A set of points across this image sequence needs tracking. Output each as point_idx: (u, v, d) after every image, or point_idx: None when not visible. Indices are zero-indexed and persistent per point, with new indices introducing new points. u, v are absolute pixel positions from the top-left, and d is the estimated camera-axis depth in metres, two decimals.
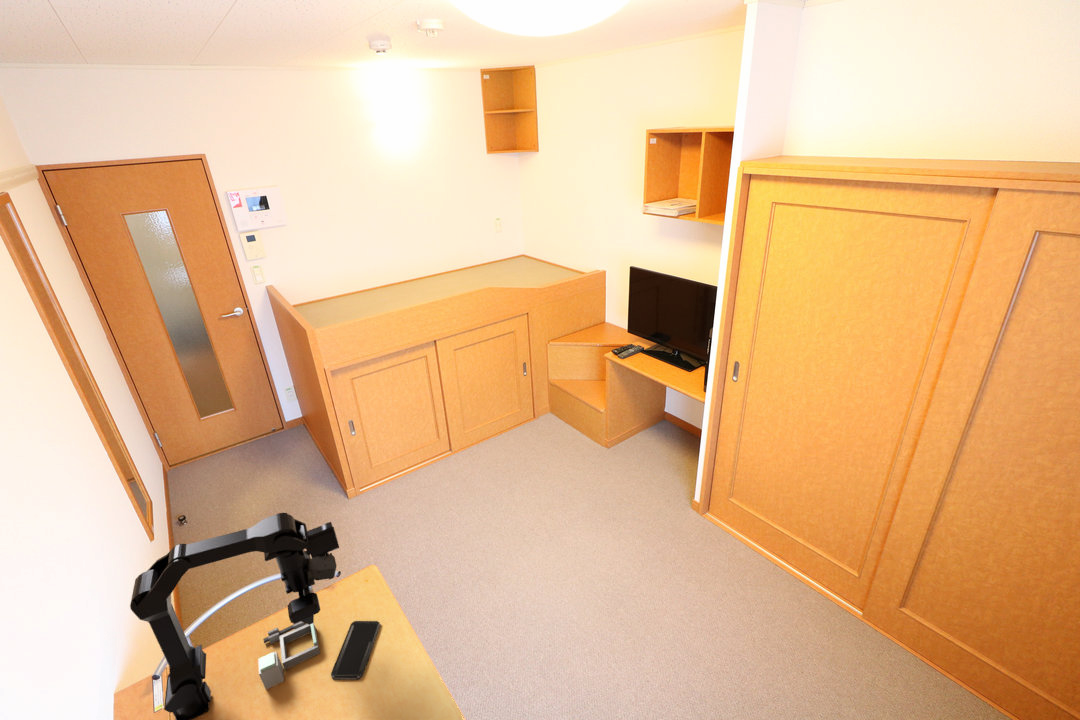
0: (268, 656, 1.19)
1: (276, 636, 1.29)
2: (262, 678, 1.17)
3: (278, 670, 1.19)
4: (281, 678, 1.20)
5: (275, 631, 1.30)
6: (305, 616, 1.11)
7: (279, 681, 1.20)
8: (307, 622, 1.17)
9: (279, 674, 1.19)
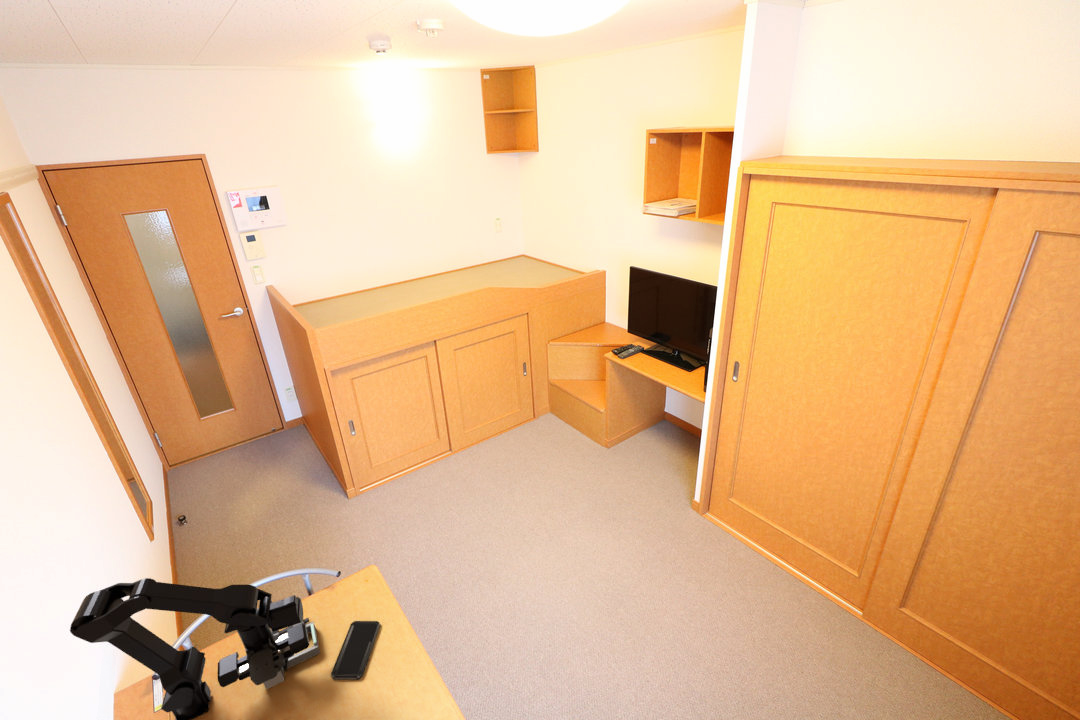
0: None
1: (276, 636, 1.29)
2: None
3: None
4: (281, 678, 1.20)
5: (275, 631, 1.30)
6: None
7: (279, 681, 1.20)
8: None
9: (279, 674, 1.19)
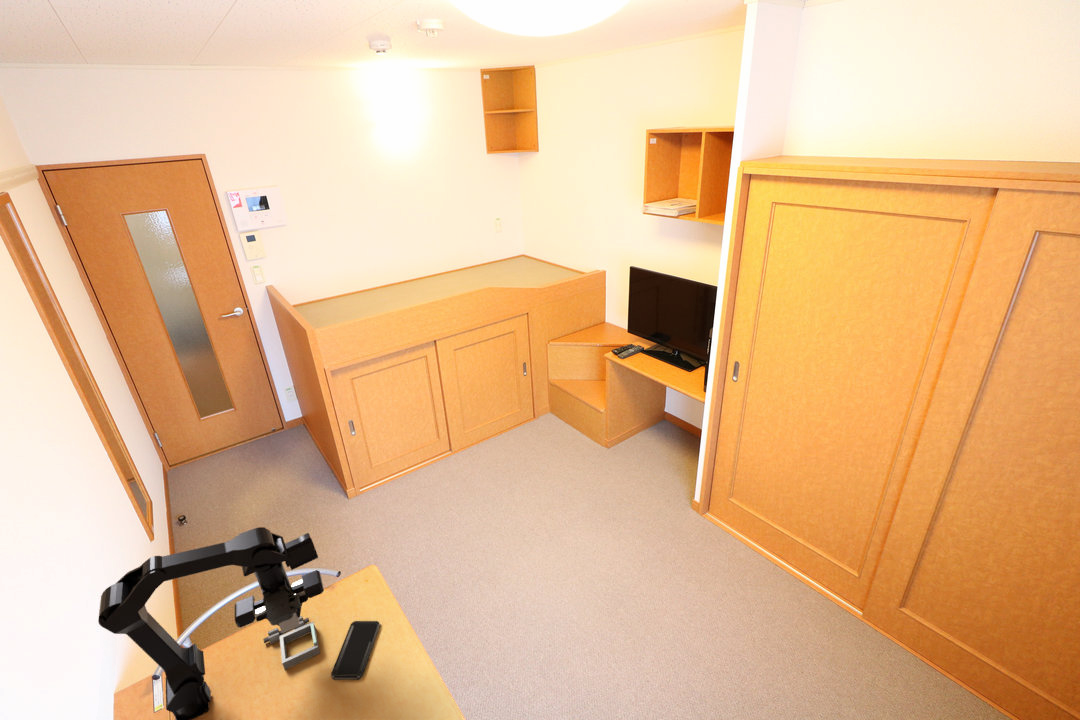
0: None
1: (276, 636, 1.29)
2: None
3: (294, 614, 1.20)
4: (297, 622, 1.22)
5: (275, 631, 1.30)
6: None
7: (295, 625, 1.22)
8: None
9: (295, 618, 1.21)
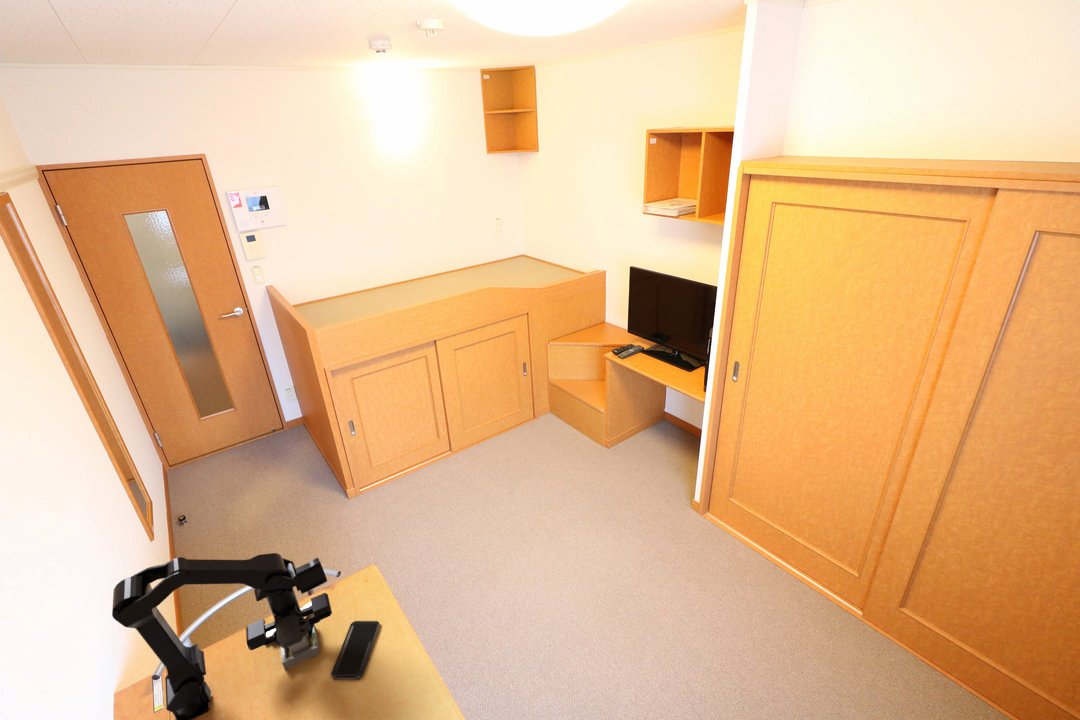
0: None
1: None
2: (290, 647, 1.24)
3: (304, 639, 1.25)
4: (307, 647, 1.27)
5: None
6: None
7: None
8: None
9: (305, 643, 1.26)
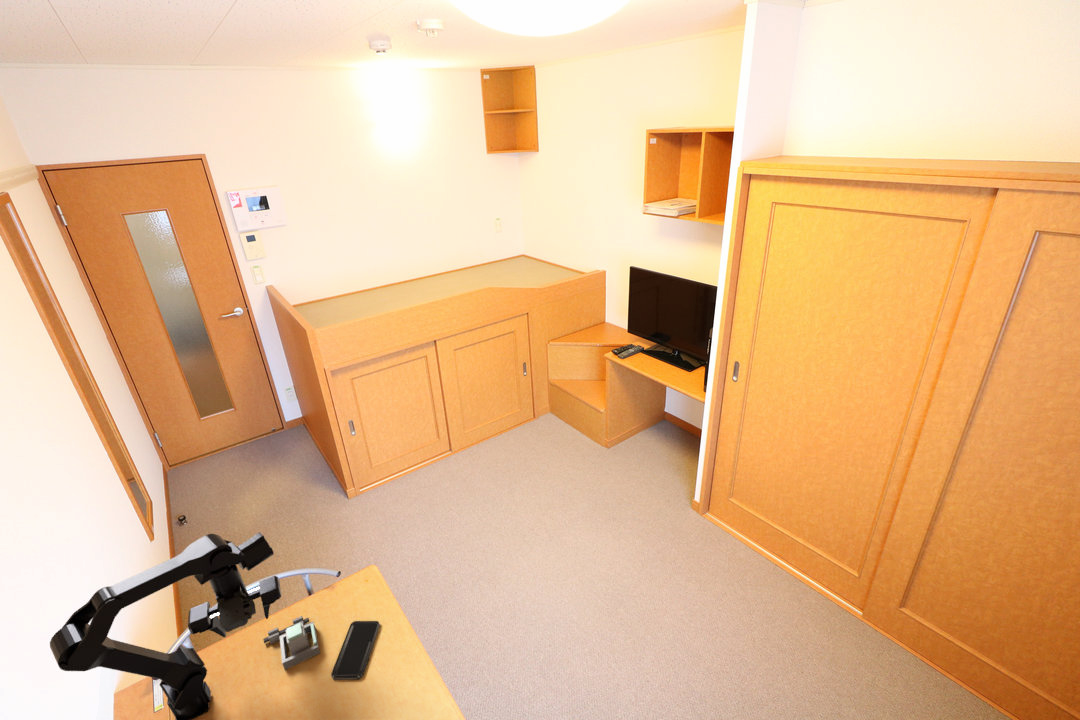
0: (295, 626, 1.26)
1: (276, 636, 1.29)
2: (290, 647, 1.24)
3: (305, 639, 1.25)
4: (307, 647, 1.27)
5: (275, 631, 1.30)
6: None
7: None
8: None
9: (305, 643, 1.26)
